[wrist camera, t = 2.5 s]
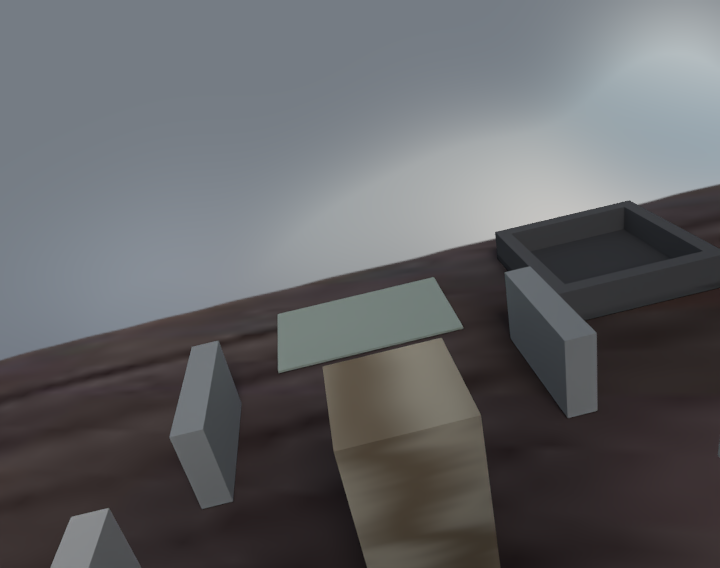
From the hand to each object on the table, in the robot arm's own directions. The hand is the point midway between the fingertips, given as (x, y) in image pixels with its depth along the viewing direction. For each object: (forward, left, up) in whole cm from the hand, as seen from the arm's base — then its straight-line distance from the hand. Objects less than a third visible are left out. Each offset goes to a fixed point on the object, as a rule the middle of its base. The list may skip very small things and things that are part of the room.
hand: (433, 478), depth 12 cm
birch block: (0, -12, -17) cm, 21 cm away
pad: (0, -37, -17) cm, 40 cm away
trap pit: (-22, -36, -17) cm, 45 cm away
